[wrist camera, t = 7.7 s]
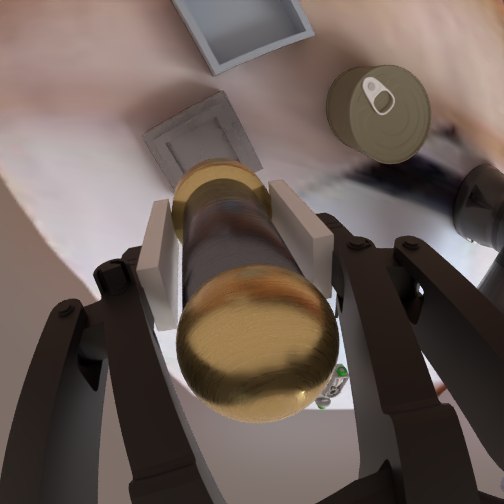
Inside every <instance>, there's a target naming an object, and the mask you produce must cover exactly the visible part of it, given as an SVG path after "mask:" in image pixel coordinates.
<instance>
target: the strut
mask: <svg viewBox="0 0 504 504" xmlns="http://www.w3.org/2000/svg"><path fill="white" fill-rule="evenodd" d="M172 221H173V225H174V230H175V234H176V236H177V238H178V239H179V241H180V242H181V243H182V244H183V251H182V307H183V312H182V314H181V317H180V320H179V324H178V327H177V335H176V351H177V359H178V363H179V366H180V369H181V373H182V375H183V377H184V379H185V381H186V382H187V384H188V386H189V388H190V389H191V390H192V391H193V393H194V394H195V395H196V396H197V398H198V399H200V400H201V401H202V402H203V403H204V404H205V405H206V406H208V407H209V408H210V409H212V410H214V411H215V412H217V413H219V414H220V415H223V416H225V417H227V418H230V419H233V420H236V421H241V422H248V423H268V422H274V421H278V420H282V419H285V418H288V417H290V416H292V415H294V414H297V413H298V412H300V411H302V410H303V409H304V408H306V407H307V406H309V405H310V404H311V403H312V402H313V401H315V400H316V398H317V397H318V396H319V395H320V394H321V393H322V391H323V390H324V389H325V388H326V386H327V384H328V383H329V381H330V379H331V377H332V375H333V373H334V370H335V367H336V364H337V360H338V354H339V332H338V326H337V322H336V319H335V316H334V313H333V311H332V309H331V307H330V305H329V303H328V302H327V300H326V298H325V297H324V296H323V294H322V293H321V292H320V291H319V290H318V289H317V287H316V286H314V285H313V284H312V283H311V282H310V281H309V280H307V279H306V278H305V276H304V275H303V273H302V271H301V269H300V268H299V266H298V264H297V263H296V261H295V259H294V257H293V256H292V254H291V252H290V251H289V249H288V247H287V246H286V244H285V242H284V241H283V239H282V237H281V235H280V234H279V232H278V230H277V229H276V227H275V225H274V224H273V222H272V205H271V198H270V195H269V193H268V191H267V189H266V188H265V186H264V185H263V183H262V182H261V181H260V179H259V178H258V177H257V176H256V174H255V173H254V172H253V171H252V170H251V169H250V168H249V167H247V166H246V165H244V164H243V163H241V162H238V161H236V160H232V159H227V158H213V159H208V160H205V161H202V162H200V163H198V164H196V165H194V166H193V167H192V168H190V169H189V170H188V171H187V172H186V173H185V174H184V175H183V176H182V177H181V179H180V181H179V182H178V184H177V186H176V189H175V192H174V198H173V205H172Z"/></svg>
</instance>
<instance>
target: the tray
mask: <svg viewBox="0 0 504 504" xmlns="http://www.w3.org/2000/svg"><path fill="white" fill-rule="evenodd" d="M171 1H172V3H173V5H174V6H175V8H176V10H177V12H178V13H179V15H180V17H181V19H182V20H183V22H184V24H185V26H186V27H187V29H188V31H189V33H190V34H191V36H192V38H193V40H194V42H195V43H196V45H197V47H198V49H199V51H200V52H201V54H202V56H203V58H204V60H205V62H206V63H207V65H208V67H209V69H210V71H211V73H212V75H213V76H216V75H218V74H220V73H222V72H224V71H226V70H228V69H231V68H233V67H235V66H237V65H240V64H242V63H244V62H246V61H249V60H251V59H253V58H256V57H258V56H261V55H263V54H266V53H268V52H271V51H273V50H276V49H278V48H281V47H284V46H286V45H289V44H292V43H295V42H298V41H300V40H303V39H306V38H309V37H312V36H314V35H315V33H314V31H313V29H312V27H311V25H310V23H309V21H308V19H307V17H306V15H305V13H304V11H303V9H302V7H301V5H300V3H299V1H298V0H171Z"/></svg>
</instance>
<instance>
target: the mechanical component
mask: <svg viewBox="0 0 504 504" xmlns="http://www.w3.org/2000/svg"><path fill="white" fill-rule="evenodd" d="M343 378H344V379H343ZM348 378H349V374H348V372H347V370H346V368H345V367H344V366H343V365H342V364H336V367H335V370H334V373H333V375H332V377H331V379H330V381H329V383H328V384H327V386H326V388H325V389H324V390H323V391H322V393H321V394H320V395H319V396H318V397H317V398H316V400H315V402H316V404H317V405H318V407H319V408H320V409H325V407H328V406H329V404H330V402H331V400H330V398H334V397H336V396H338V395H339V394H340V393H341V390H342V388H343V387H344V385H345V383H346V382H347V380H348ZM342 380H343V382H342Z"/></svg>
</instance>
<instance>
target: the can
mask: <svg viewBox="0 0 504 504" xmlns="http://www.w3.org/2000/svg"><path fill="white" fill-rule="evenodd" d="M326 113H327V118H328V122H329V125H330V127H331V129H332V131H333V132H334V134H335V135H336V136H337V138H338V139H339V140H340V141H341V142H343V143H344V144H345V145H347V146H349V147H351V148H353V149H356V150H358V151H360V152H362V153H364V154H366V155H367V156H368V157H370V158H371V159H373V160H375V161H378V162H380V163H385V164H397V163H401V162H404V161H406V160H408V159H409V158H411V157H412V156H414V155H415V154H416V153H417V152H418V151H419V150H420V148H421V147H422V145H423V144H424V142H425V140H426V138H427V136H428V133H429V129H430V124H431V107H430V102H429V98H428V95H427V93H426V91H425V89H424V87H423V85H422V84H421V83H420V81H419V80H418V79H417V78H416V77H415V76H414V75H413V74H412V73H410V72H409V71H407V70H406V69H404V68H401V67H399V66H394V65H381V66H377V67H357V68H353V69H350V70H347V71H345V72H344V73H342V74H341V75H340V76H339V77H338V78H337V79H336V80H335V81H334V82H333V84H332V86H331V88H330V90H329V93H328V96H327V101H326Z"/></svg>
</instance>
